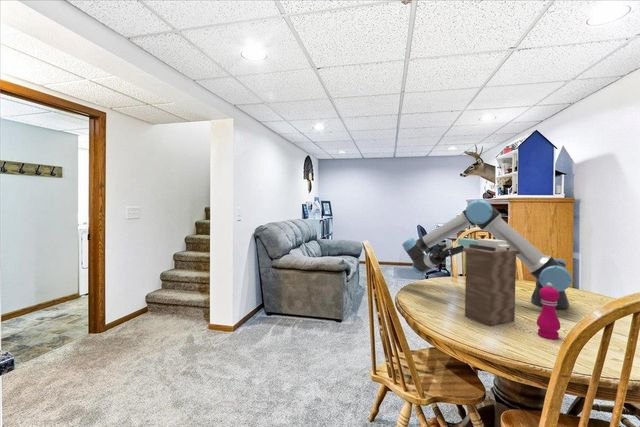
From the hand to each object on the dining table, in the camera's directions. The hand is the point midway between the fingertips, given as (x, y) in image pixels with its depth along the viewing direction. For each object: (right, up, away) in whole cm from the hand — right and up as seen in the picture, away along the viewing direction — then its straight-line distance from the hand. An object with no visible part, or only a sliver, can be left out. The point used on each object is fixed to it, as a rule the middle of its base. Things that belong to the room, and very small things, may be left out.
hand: (462, 241), depth 148 cm
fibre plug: (+4, -2, -9) cm, 11 cm away
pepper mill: (+18, -33, -30) cm, 48 cm away
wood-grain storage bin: (+6, -32, -12) cm, 35 cm away
